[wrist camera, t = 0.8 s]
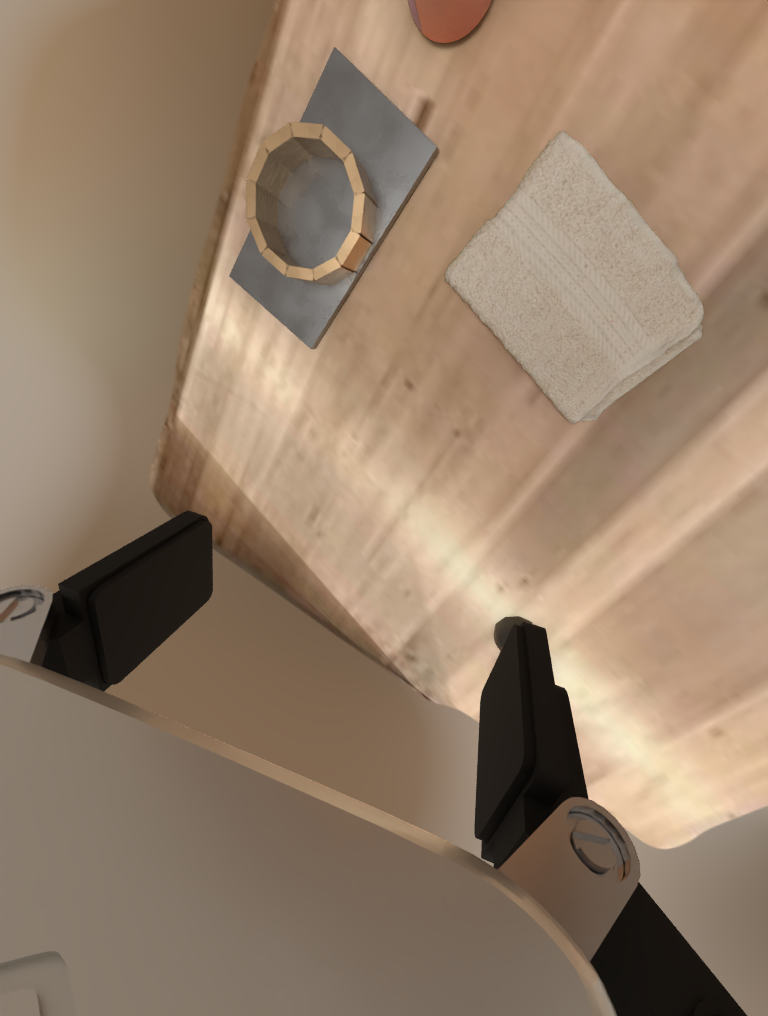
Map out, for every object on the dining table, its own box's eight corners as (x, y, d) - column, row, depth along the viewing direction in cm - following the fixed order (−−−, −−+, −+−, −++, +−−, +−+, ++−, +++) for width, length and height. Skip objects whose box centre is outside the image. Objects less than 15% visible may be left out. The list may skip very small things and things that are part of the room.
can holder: (339, 55, 29) (314, 10, 25) (438, 152, 30) (430, 123, 26) (235, 277, 37) (204, 270, 33) (315, 348, 38) (294, 350, 34)
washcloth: (574, 428, 35) (581, 436, 33) (439, 279, 33) (434, 274, 31) (709, 322, 30) (731, 321, 27) (557, 137, 28) (564, 116, 25)
